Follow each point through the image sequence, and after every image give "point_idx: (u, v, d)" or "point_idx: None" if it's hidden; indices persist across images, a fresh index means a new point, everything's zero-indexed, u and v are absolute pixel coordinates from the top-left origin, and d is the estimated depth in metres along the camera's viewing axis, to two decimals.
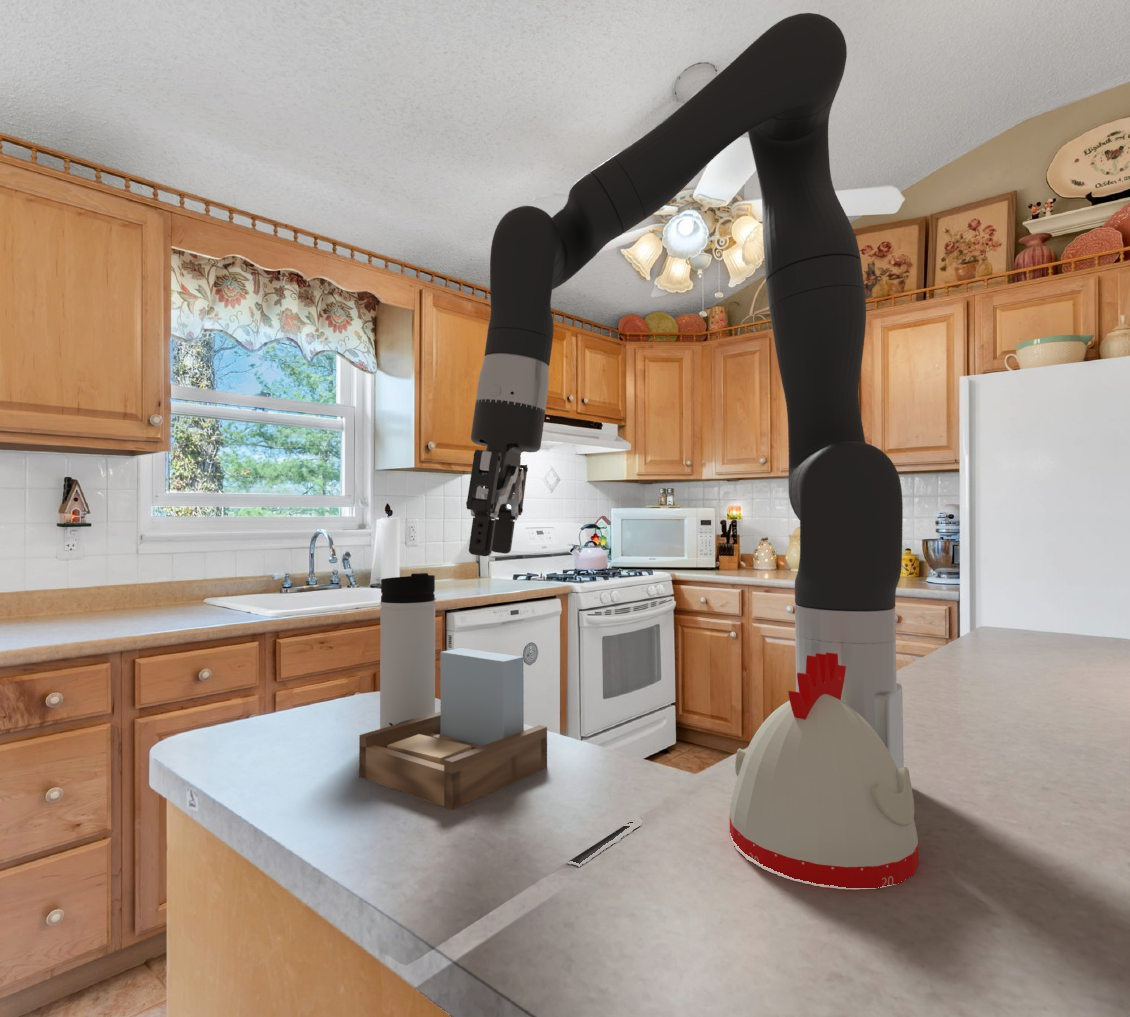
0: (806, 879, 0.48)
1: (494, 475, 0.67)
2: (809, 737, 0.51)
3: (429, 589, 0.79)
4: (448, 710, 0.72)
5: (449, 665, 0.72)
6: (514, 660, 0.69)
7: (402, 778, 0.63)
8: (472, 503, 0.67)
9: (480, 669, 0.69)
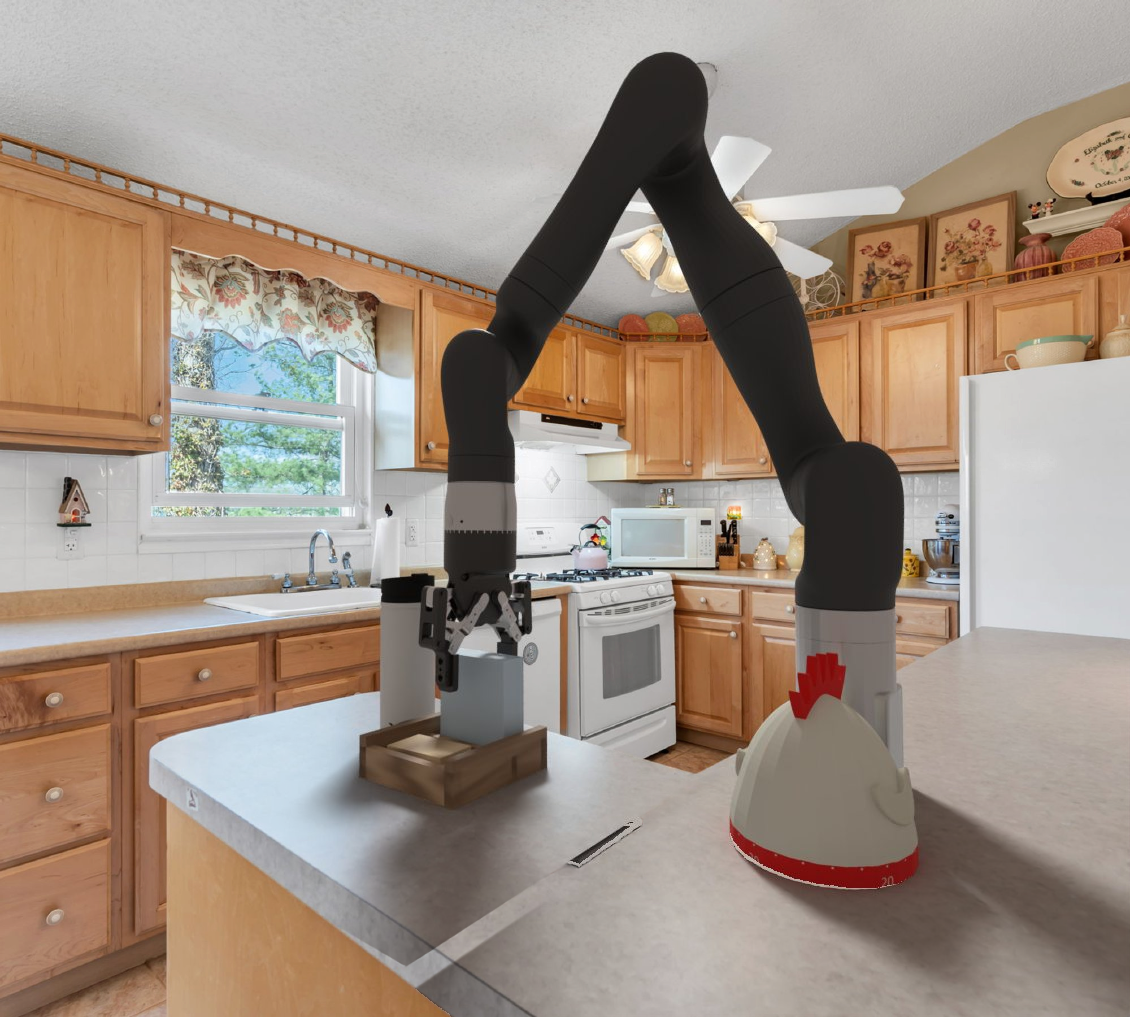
0: (806, 879, 0.48)
1: (436, 612, 0.65)
2: (809, 737, 0.51)
3: None
4: (448, 710, 0.72)
5: None
6: (514, 660, 0.69)
7: (402, 778, 0.63)
8: (422, 642, 0.66)
9: (480, 669, 0.69)
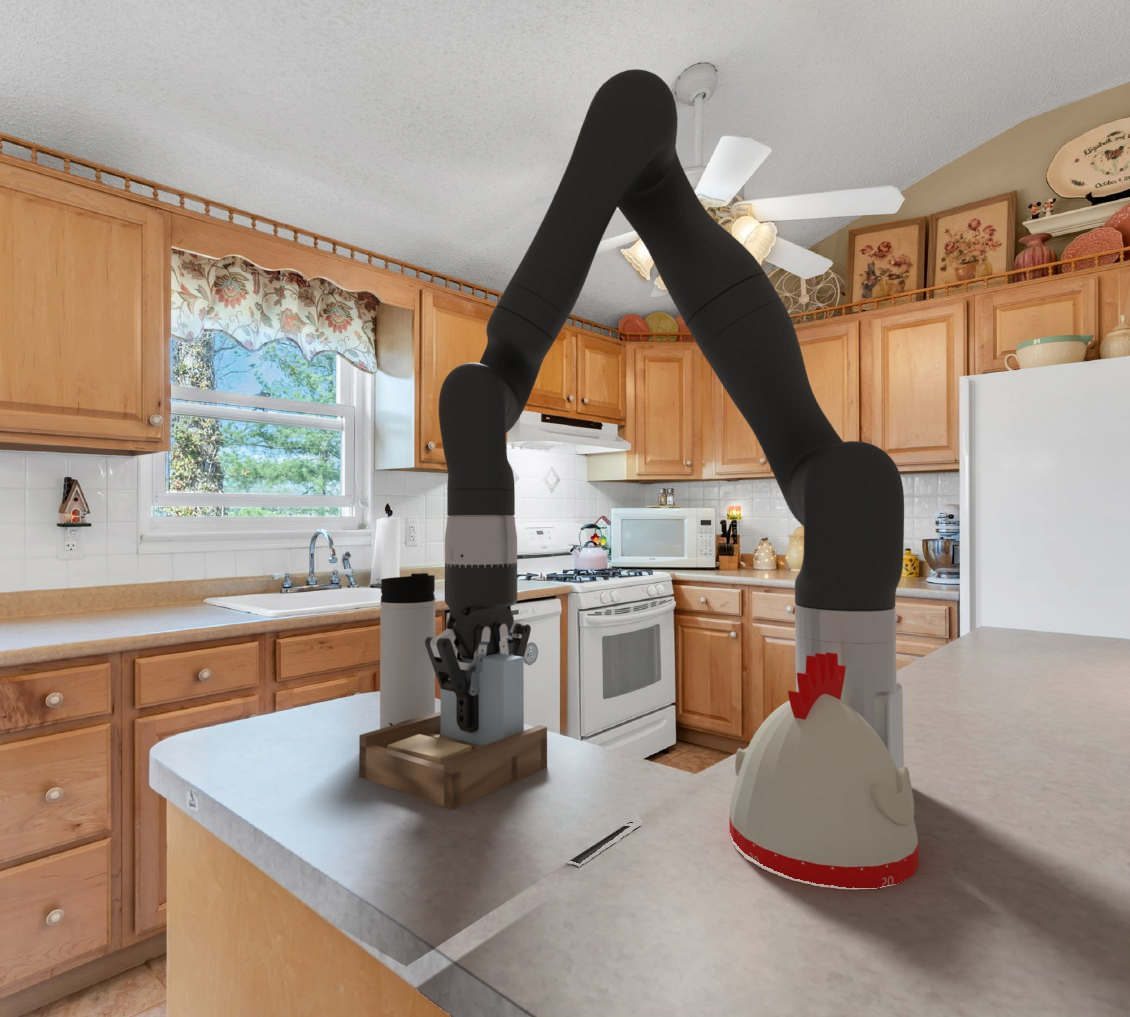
0: (806, 879, 0.48)
1: (447, 663, 0.66)
2: (809, 737, 0.51)
3: (429, 589, 0.79)
4: (448, 710, 0.72)
5: None
6: (514, 660, 0.69)
7: (402, 778, 0.63)
8: (444, 687, 0.68)
9: None
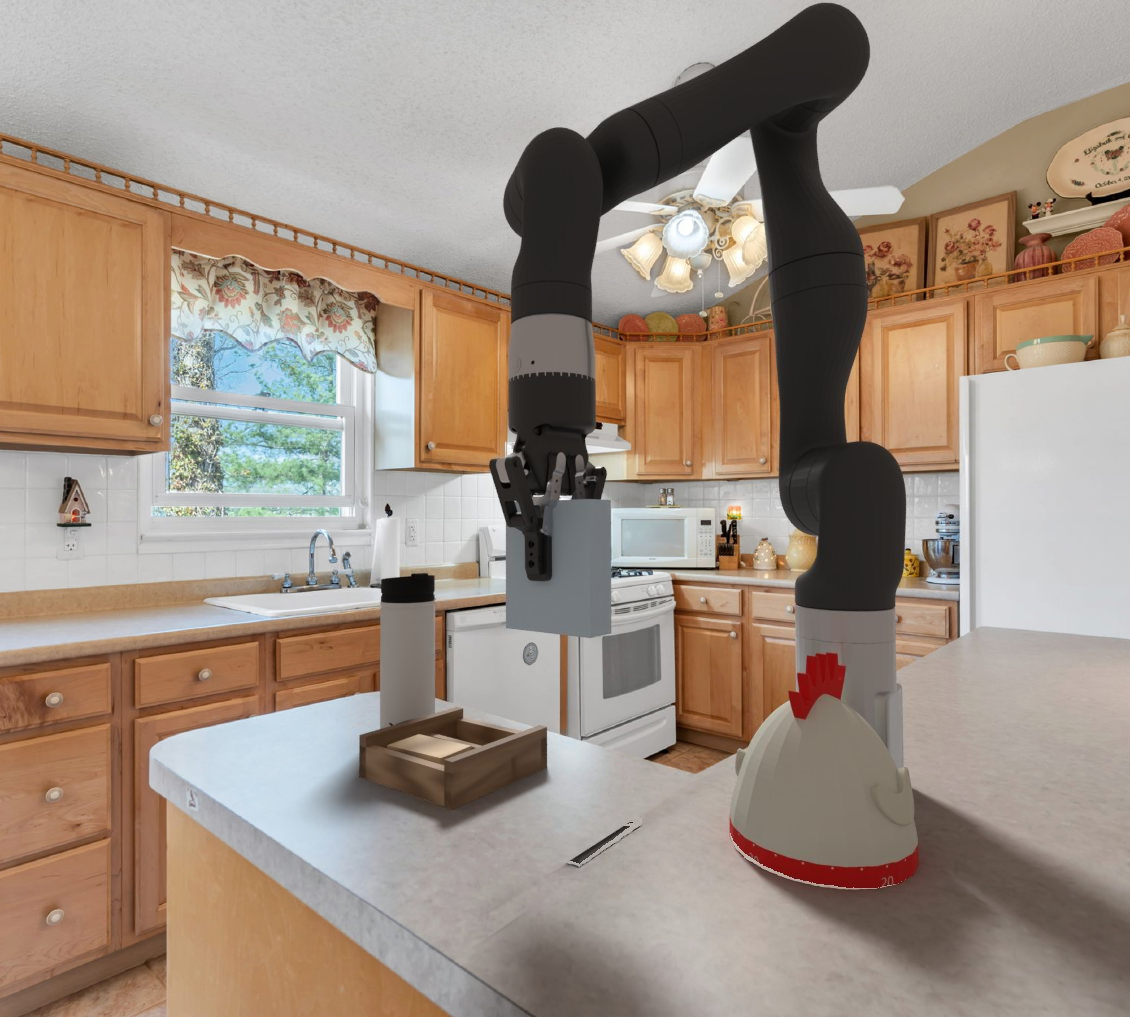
0: (806, 879, 0.48)
1: (517, 487, 0.54)
2: (809, 737, 0.51)
3: (429, 589, 0.79)
4: (515, 570, 0.59)
5: None
6: (601, 501, 0.56)
7: (402, 778, 0.63)
8: (511, 523, 0.56)
9: (559, 513, 0.56)
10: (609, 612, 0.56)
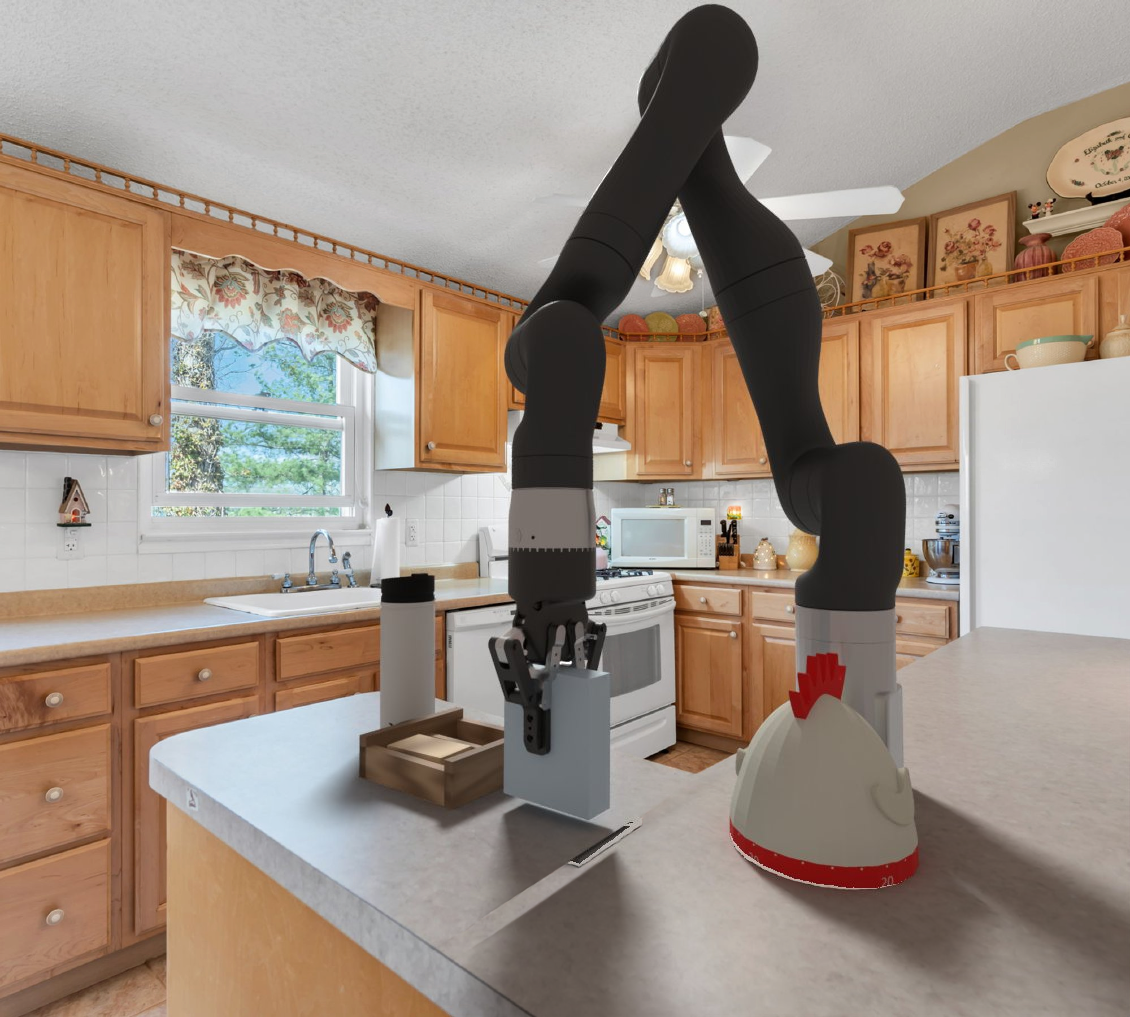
0: (806, 879, 0.48)
1: (516, 670, 0.53)
2: (809, 736, 0.51)
3: (429, 589, 0.79)
4: (514, 736, 0.59)
5: None
6: (600, 677, 0.55)
7: (402, 778, 0.63)
8: (510, 699, 0.55)
9: (558, 687, 0.56)
10: (608, 787, 0.56)
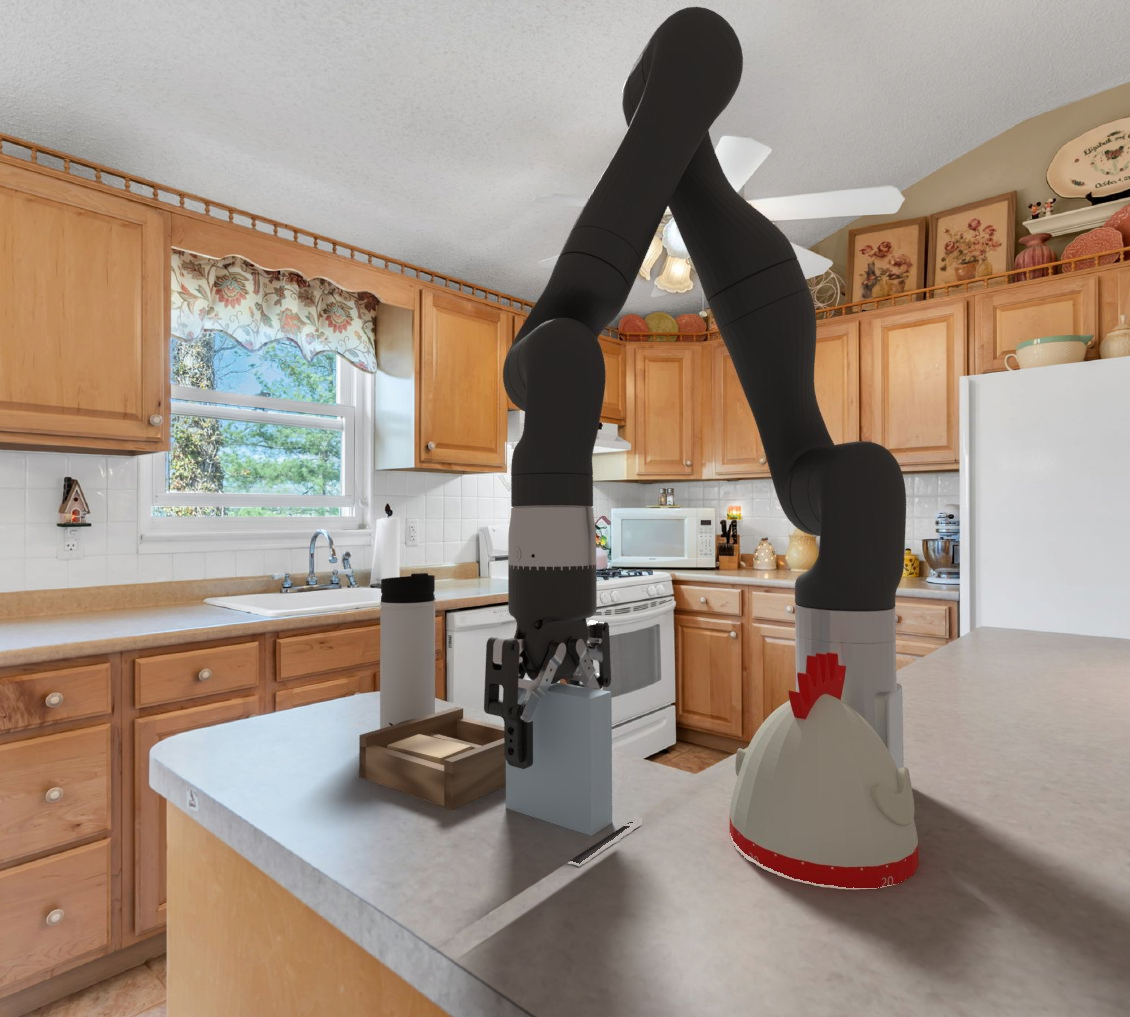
0: (806, 879, 0.48)
1: (507, 671, 0.52)
2: (809, 737, 0.51)
3: (429, 589, 0.79)
4: None
5: None
6: (602, 696, 0.55)
7: (402, 778, 0.63)
8: (489, 708, 0.53)
9: (559, 707, 0.56)
10: (610, 806, 0.56)
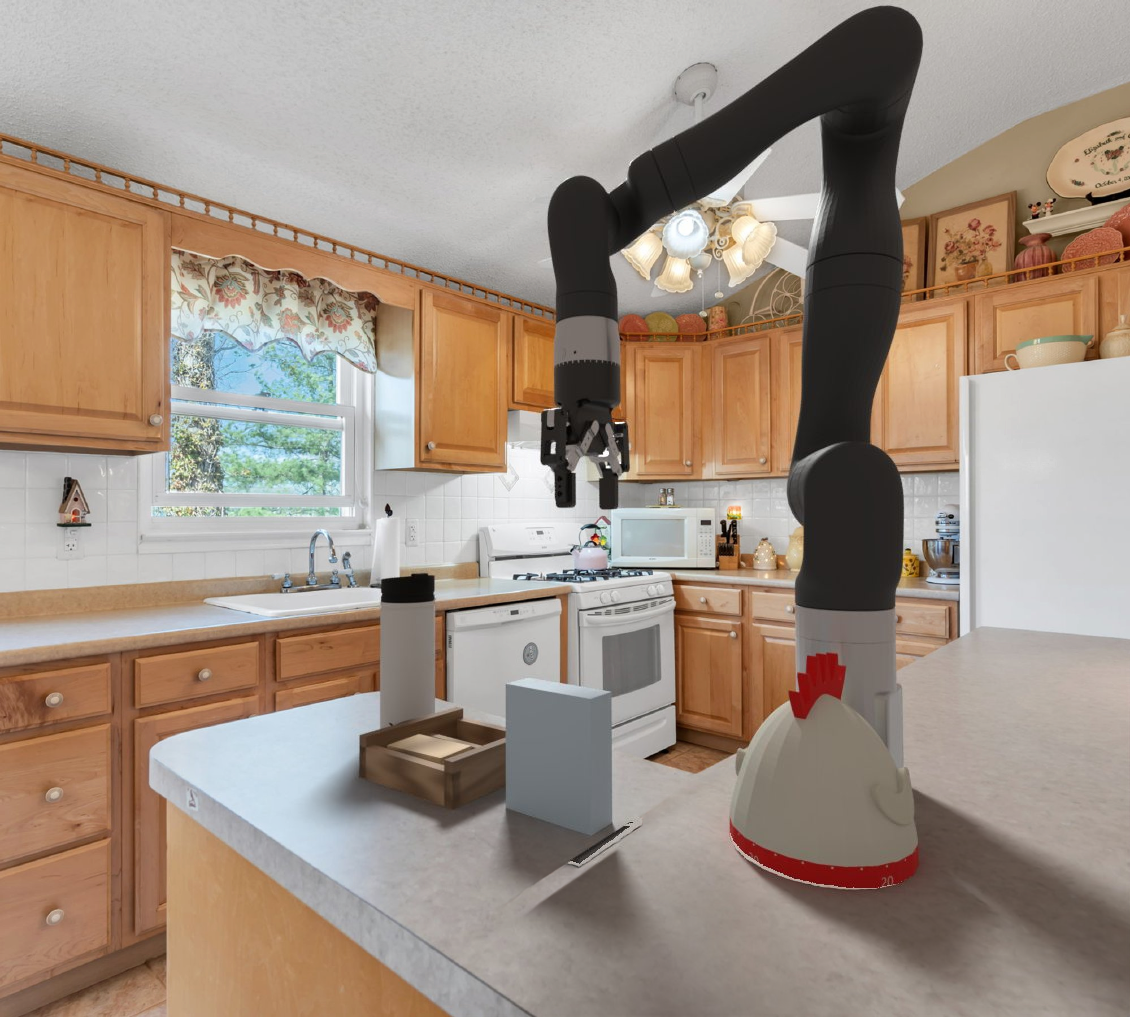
0: (806, 879, 0.48)
1: (559, 429, 0.71)
2: (809, 736, 0.51)
3: (429, 589, 0.79)
4: (515, 756, 0.59)
5: (516, 700, 0.59)
6: (602, 696, 0.55)
7: (402, 778, 0.63)
8: (544, 458, 0.72)
9: (559, 707, 0.56)
10: (610, 806, 0.56)
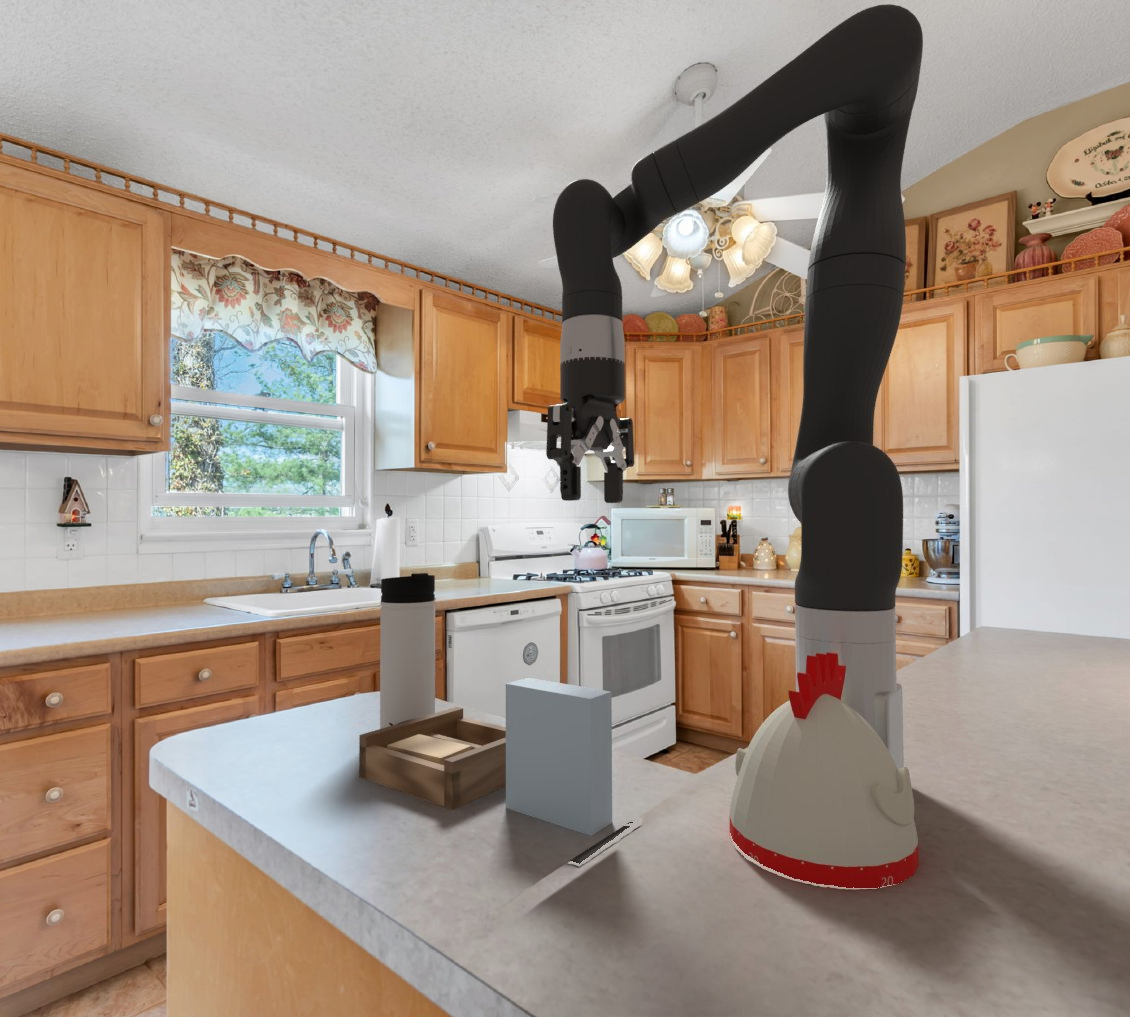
0: (806, 879, 0.48)
1: (564, 424, 0.73)
2: (809, 736, 0.51)
3: (429, 589, 0.79)
4: (515, 756, 0.59)
5: (516, 700, 0.59)
6: (602, 696, 0.55)
7: (402, 778, 0.63)
8: (550, 452, 0.74)
9: (559, 707, 0.56)
10: (610, 806, 0.56)
